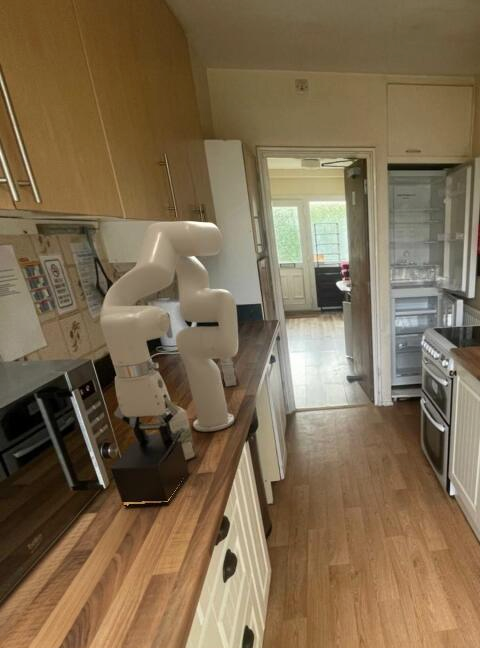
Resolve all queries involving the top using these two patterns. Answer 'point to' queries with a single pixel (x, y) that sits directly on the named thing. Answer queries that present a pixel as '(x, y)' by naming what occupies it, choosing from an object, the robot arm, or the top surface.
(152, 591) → the top surface
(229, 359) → the candy bar box
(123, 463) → the bin lid
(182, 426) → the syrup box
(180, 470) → the bin
